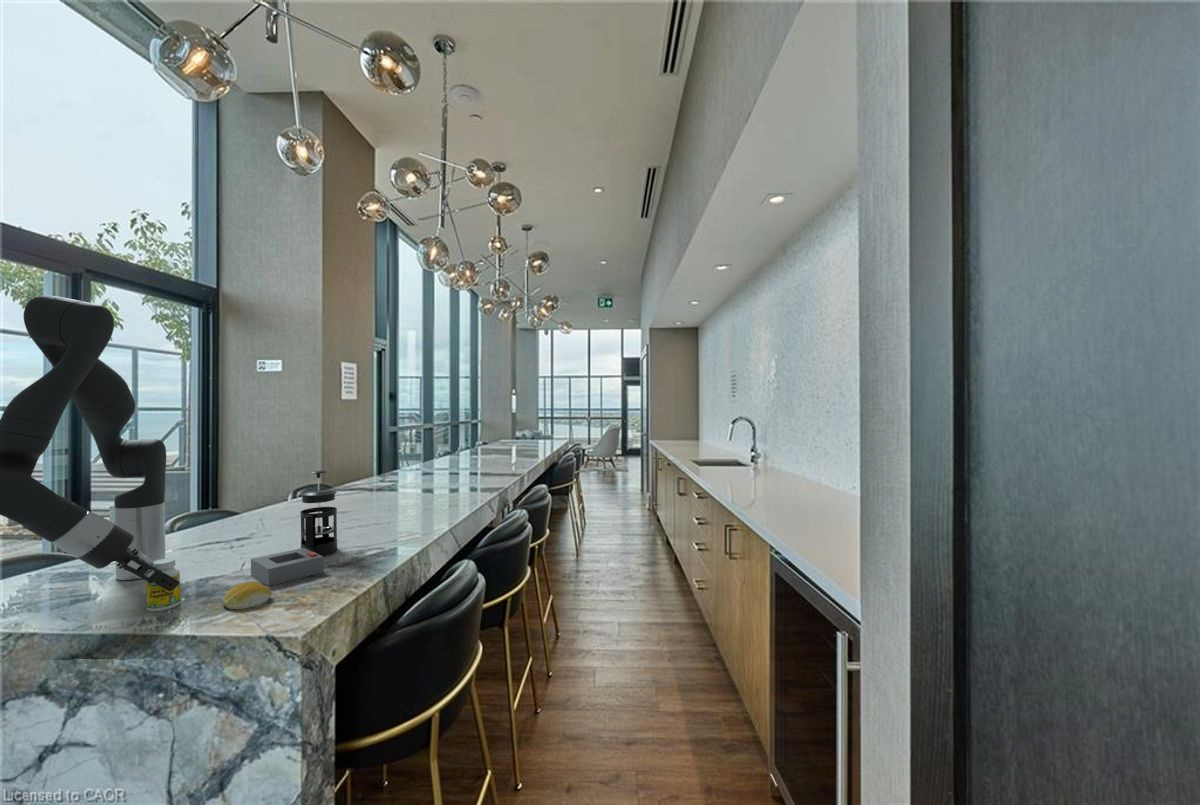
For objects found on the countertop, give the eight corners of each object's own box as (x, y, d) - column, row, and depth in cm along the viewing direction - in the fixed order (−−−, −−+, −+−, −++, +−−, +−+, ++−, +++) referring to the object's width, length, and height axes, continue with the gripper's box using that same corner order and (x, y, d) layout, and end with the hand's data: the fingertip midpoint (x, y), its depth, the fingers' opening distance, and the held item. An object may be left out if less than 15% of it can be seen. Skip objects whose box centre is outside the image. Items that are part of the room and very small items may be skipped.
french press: (310, 547, 150) (309, 468, 149) (344, 546, 150) (343, 467, 150) (290, 560, 138) (289, 474, 138) (327, 559, 139) (326, 473, 139)
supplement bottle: (181, 599, 111) (181, 555, 111) (178, 608, 107) (178, 562, 107) (149, 605, 108) (148, 559, 108) (144, 614, 104) (143, 566, 104)
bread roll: (261, 592, 116) (261, 574, 116) (276, 601, 110) (275, 583, 110) (216, 603, 110) (216, 584, 110) (230, 614, 104) (229, 594, 104)
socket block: (251, 575, 126) (250, 556, 126) (303, 562, 136) (303, 545, 136) (268, 586, 119) (268, 566, 119) (323, 572, 128) (323, 554, 128)
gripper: (118, 528, 97) (195, 573, 106) (106, 517, 106) (178, 559, 115) (78, 564, 93) (162, 607, 102) (70, 549, 102) (147, 590, 111)
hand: (170, 582), depth 108 cm, fingers open, 8 cm apart
